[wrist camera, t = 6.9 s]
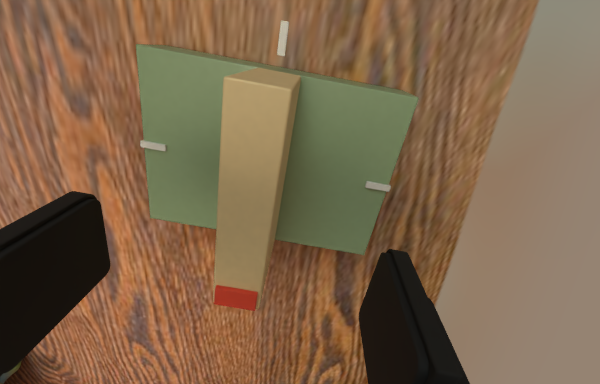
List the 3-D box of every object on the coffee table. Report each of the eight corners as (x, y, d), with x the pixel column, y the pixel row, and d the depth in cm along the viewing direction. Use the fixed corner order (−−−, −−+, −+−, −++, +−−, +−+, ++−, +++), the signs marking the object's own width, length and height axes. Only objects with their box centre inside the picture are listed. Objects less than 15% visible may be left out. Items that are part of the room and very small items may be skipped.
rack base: (417, 51, 16) (439, 51, 13) (352, 251, 22) (357, 281, 19) (161, 1, 15) (126, -10, 12) (171, 220, 22) (149, 245, 19)
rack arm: (256, 67, 14) (220, 76, 8) (301, 75, 14) (292, 90, 9) (240, 234, 18) (210, 306, 13) (274, 240, 18) (257, 314, 13)
